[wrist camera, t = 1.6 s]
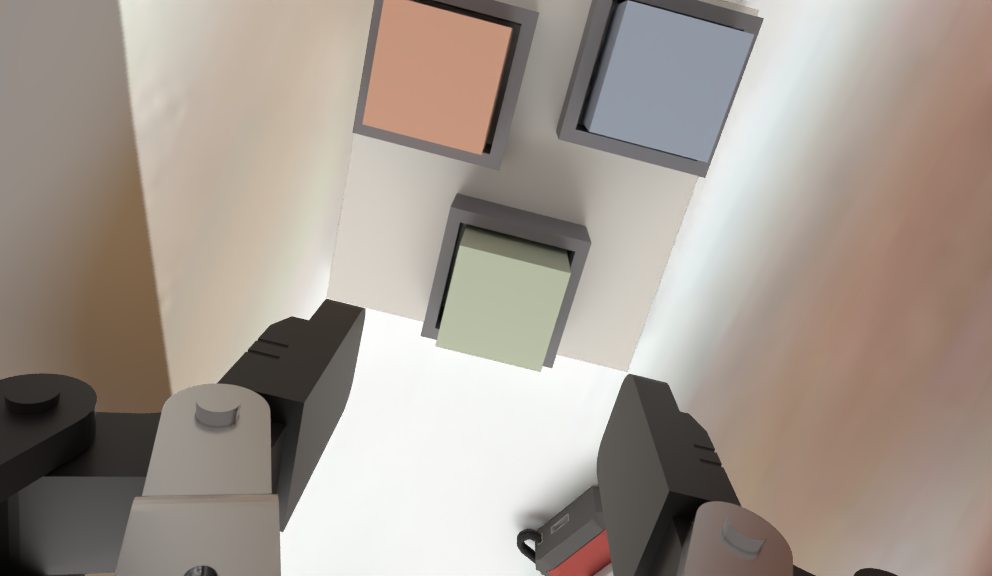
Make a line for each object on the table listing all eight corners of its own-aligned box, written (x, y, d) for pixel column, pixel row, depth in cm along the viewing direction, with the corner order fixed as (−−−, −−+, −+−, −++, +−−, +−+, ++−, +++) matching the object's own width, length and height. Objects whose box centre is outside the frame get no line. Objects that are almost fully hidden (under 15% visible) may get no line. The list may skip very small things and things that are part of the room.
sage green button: (565, 246, 32) (571, 273, 28) (538, 335, 34) (540, 371, 30) (467, 221, 32) (459, 245, 28) (445, 312, 34) (435, 346, 30)
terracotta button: (513, 30, 29) (511, 28, 25) (487, 141, 30) (481, 154, 27) (403, 0, 28) (384, -7, 25) (382, 114, 30) (362, 124, 26)
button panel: (745, 12, 31) (783, 6, 27) (622, 355, 38) (635, 399, 33) (399, -83, 30) (376, -106, 26) (336, 285, 37) (309, 319, 32)
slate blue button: (724, 35, 28) (754, 34, 25) (685, 147, 30) (707, 162, 26) (614, 6, 28) (628, 0, 24) (581, 120, 30) (588, 131, 26)
